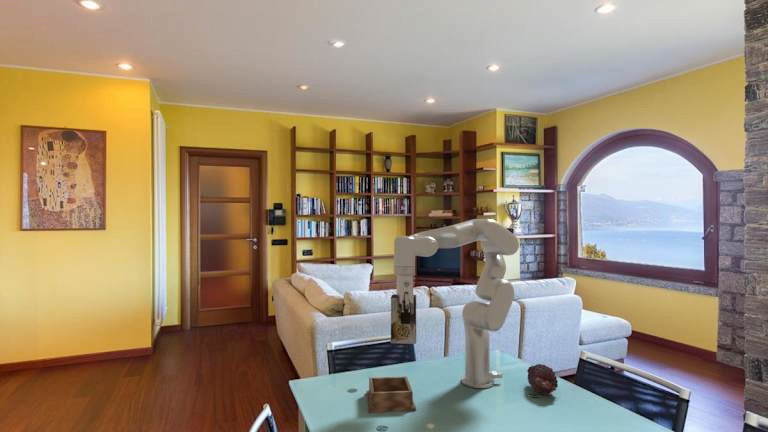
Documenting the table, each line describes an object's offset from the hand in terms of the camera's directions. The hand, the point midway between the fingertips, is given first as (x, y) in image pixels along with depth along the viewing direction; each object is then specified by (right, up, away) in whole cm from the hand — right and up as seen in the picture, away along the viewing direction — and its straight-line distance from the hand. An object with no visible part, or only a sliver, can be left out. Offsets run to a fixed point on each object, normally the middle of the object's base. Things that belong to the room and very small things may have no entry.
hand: (403, 320), depth 149 cm
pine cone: (+52, -28, +7) cm, 59 cm away
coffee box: (0, -7, 0) cm, 7 cm away
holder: (-5, -28, -1) cm, 29 cm away
